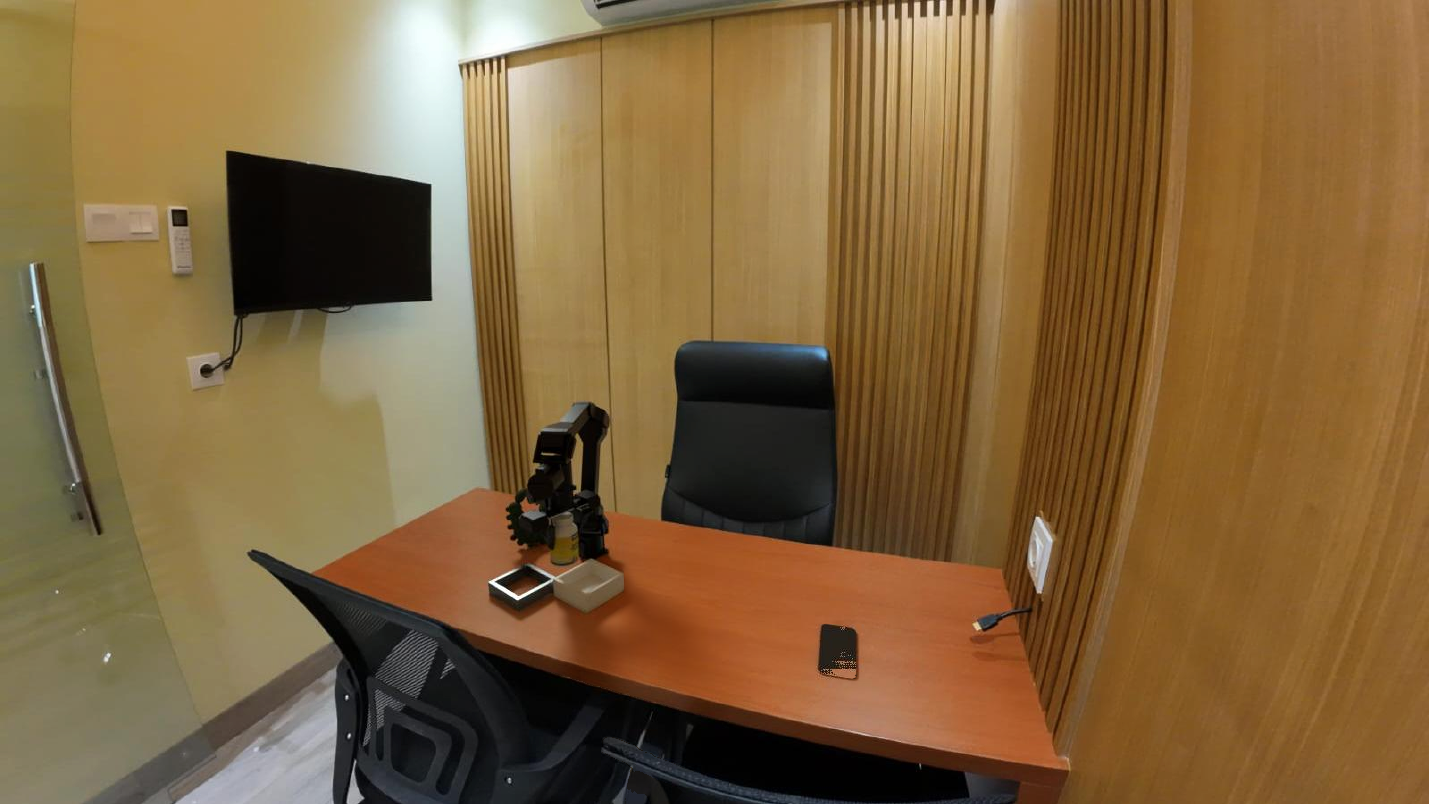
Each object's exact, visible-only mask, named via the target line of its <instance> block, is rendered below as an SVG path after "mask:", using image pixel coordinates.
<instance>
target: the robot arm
mask: <svg viewBox="0 0 1429 804" xmlns="http://www.w3.org/2000/svg"><path fill="white" fill-rule="evenodd" d="M610 424H611V417H610V414H609V413H608V412H607V410H605V409H603V408H601V407H600V406H597V405H596V404H595V403H594V402H592V401H585V400H584V401H583V400H582V401H578V400H577V401H574V402H573V403H572V407H571V408H570V409H569V410H568V411H567V412H566V413H565V415H564V416H563V417H562V418H560V420H559V421H558V422H555V423H552V424H548V425H546V426H545V427H543V428H542V429H541V431H540V432H539V433H538V435H537V437H536V442H535V443H536V444H535V448H534V451H533V452H534V453H533V458H532V463H533V464H539V466H537V467H535V468H534V473H533V474H532V475H531V477H529V479H528V481H527V484H526V488H527V489H528V491H526V497H525V499H526V501H527V504H529V505H535V506H539V505H540V504H542V507H544V508H547V507H548V508H549V510H548V511H545V512H543V513H541V512H539V510H537V509H532V510H530V511H527V512H524V514H522V515H521V516H520V517H519V526H520V527H522V528H524V529H526V530H527V531H529V532H531V533H538V532H541V534H542V535H543V537H544V539H545V541H546V545H547V547H548V548H549V550H550V549H551V550H554V545H555V526H553V525H551V518H554V517H556V516H559V515H561V514H564V513H566V512H569V511H570V512H571V513H572V514H573V523H574V524H576V526H577V528H578V553H579V556H580V557H582V558H584V559H586V560H589V559H594V560H595V559H596V560H597V558H599V557H601V556H603V555H605V554H606V553H608V552H609V551H610V549H608V548H607V547H605V535H609V533H610V520H609V519H608V517H606V515H605V513H604V512H605V511H604V510H605V509H604V506H603V504H602V501H601V500H602V498H601V496H600V495H599V486H600V467H601V466H600V465H601V448H602V447H601V445H602V443H603V441H604V440H605V438H606V437H607V436H608V430H609V428H610ZM577 435H578V437H579V439H580V440H581V443H582V457H581V474H580V475H581V476H580V492H576V493H575V494H574V492H575V491H576V490H577V489H578V488H577V485H576V484H574V482H573V468H572V467H573V466H572V459H574V456H575V450H576V446H577V443H578V441H577Z"/></svg>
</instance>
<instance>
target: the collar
mask: <svg viewBox="0 0 1429 804" xmlns="http://www.w3.org/2000/svg"><path fill="white" fill-rule="evenodd" d="M525 577H526V578H527V577H529V578H530V579H532V580H534V581H536V582H538V583H540V584H539V585H538V586H536V587H535V588H532V589H531V590H528V591H527V592H525V593H523V594H521V595H517V594H515V593H514V592H512V591H510V590H509V589H507V588H508V587H510V586H511V585H514V584H515V583H518V582H520V581H522V580H523V578H524V579H525ZM555 577H556V576H555V575H553V574H551V573H549V572H547V571H545V570H543V569H541V568H539V567H537V566H535V565H533V564H531V563H530V562H527V563H524V564H522V565H520V566H519V567H516V568H515V569H512V570H510V571H508V572H505V573H504V574H502V575H500V576H498V577H495V578H494V579H492V580H489V581H488V582H487V585H488V593H489V595H491V596H492V597H495V598H496V599H498V600H499V601H501V602H502V603H504V604H505V605H507V606H509V607H510V608H511V609H514V610H515V611H516V612H521V611H523V610H525V609H527V608H529V607H531V606H532V605H534V604H535V603H538V602H539V601H542V600H543V599H545V598H546V597H548V596H551V594H554V588H553V578H555ZM519 580H520V581H519Z"/></svg>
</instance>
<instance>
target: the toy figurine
mask: <svg viewBox="0 0 1429 804" xmlns="http://www.w3.org/2000/svg"><path fill="white" fill-rule="evenodd" d="M526 491H528V489H527V487H524V488H521V489H520V490H518V491H517V492H516V494H514V501H513V502H511V503H509V505H508V506H507V507H505V512H507V513H508V514H507V515H506V516H505V520H507V521H510V524H508V525H507V530H510V531H511V530H512V532H513V533H512V534H510V535H509V540H510V541H512V542H513V541H514V542H515V541H516V540H517V541H516V544H517V546H519V547H522V546H524V545H527V547H528V548H529V549H534V548H536V544H540V545H542V546H545V545H547V543H546V541H545V539H544V537H543V535H542V534H541V532H538V533H531V532H529V531H527V530H526V529H524V528H522V527H520V526H519V517H520V516H521V515H522V514H524V513H525V511H524V510H523V506H522V504H521V503H522V502H524V500H525V499H526ZM548 510H549V508H548V507H547V508H544V507H542V504H538V511H539V512H541V513H543V512H545V511H548ZM569 512H570V511H569ZM570 513H571V512H570ZM551 525H554V524H553V523H552V518H551Z"/></svg>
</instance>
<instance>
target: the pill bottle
mask: <svg viewBox="0 0 1429 804" xmlns="http://www.w3.org/2000/svg"><path fill="white" fill-rule="evenodd" d="M552 523H553V524H554V525H553V526H555V545H554V550H551V549H549V561H550V563H551V565H552V566H553V567H556V568H569V567H573V566H574V565H575V564H576V563H577V562H579V556H580V555H579V553H578V541H579V537H578V528H577V526H576V524H574V523H573V514H572V513H570V512H566V513H564V514H561V515H559V516H556V517H554V518H552Z"/></svg>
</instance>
